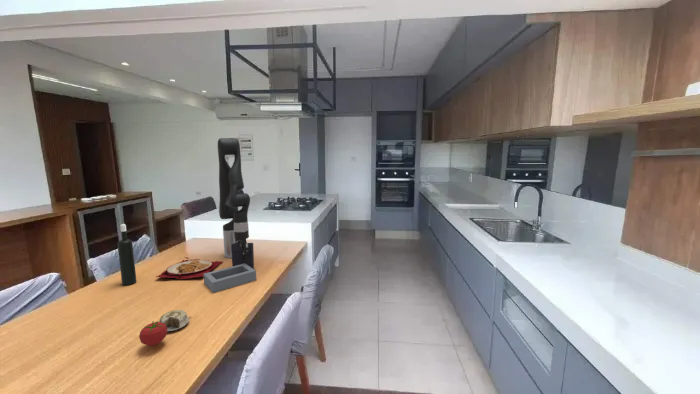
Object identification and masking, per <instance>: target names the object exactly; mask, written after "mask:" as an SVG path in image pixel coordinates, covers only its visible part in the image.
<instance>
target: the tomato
mask: <svg viewBox="0 0 700 394" xmlns="http://www.w3.org/2000/svg"><path fill="white" fill-rule="evenodd" d="M167 330H168V329H167V327H166V325H165V324H164V323H161V322H159V320H158V321H155V322H154V321H152V322H151V323H148V324H146V325H145V326H143V328H142V329H141V330H140V331H139V335H138V339H139V340H140V343H141V344H143V345H145V346H147V347H153V346H156V345H158V344H160V343H161V342H162V341H164V340H165V338H166V336H167V335H168V331H167Z"/></svg>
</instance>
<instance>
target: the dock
mask: <svg viewBox="0 0 700 394" xmlns="http://www.w3.org/2000/svg"><path fill="white" fill-rule="evenodd" d="M255 281H257V270H256V269H255V268H254V269H253V268H251V267H250V266H248V265H247V264H245V263H244V264H240V265H236V266H232V265H231V266H230V267H225V268H222V269H217V270H213V271H212V270H211V271H209V272H208V273H204V274H203V284H204V285H205V286H206V287H207V288H208V289H209V290H210V291H211V293H213V294H214V293H218V292H221V291H224V290H225V291H226V290H229V289H231V288H235V287H238V286H241V285H245V284H248V283H251V282H255Z"/></svg>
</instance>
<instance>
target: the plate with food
mask: <svg viewBox="0 0 700 394" xmlns="http://www.w3.org/2000/svg"><path fill="white" fill-rule="evenodd" d="M184 258H185V260H184V259H183V260H181V261H180V262H177V263H175V264H172V265H170V266H168V267H167V268H166V270H164V271H163V272H161V273H160V274H159V275H156V276H155V277H156V278H162V279H163V278H167V279H169V278H170V279H172V278H175V279H176V280H184V279H185V280H187V279H195V278H201V277H203V278H204V276H203V274H204V273H208V272H212V270H213V269H215V268H217V266H219V265H220V264H222V263H224V261H221V260H220V261H218V260H216V261H211V260H209V259H208V260H206V259H199V258H194V259H190V257H186V256H184Z"/></svg>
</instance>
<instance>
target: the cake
mask: <svg viewBox="0 0 700 394" xmlns="http://www.w3.org/2000/svg"><path fill="white" fill-rule="evenodd" d="M189 321H190V318H189V316H188V313H187V311H185V310H183V309H173V310H169V311H167V312H166V313H164V314H162V316H160V318H159V320H158V322H161V323H164V324H165V325H166V327H167V329H168V330H167V332H172V331H177V330H178V329H179V330H180V329H182V328H183V327H185V326H186V325H188V323H189Z"/></svg>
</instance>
